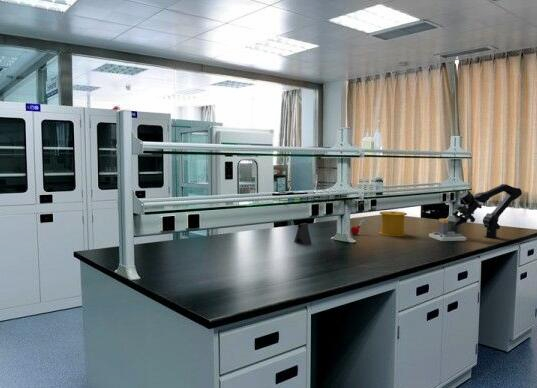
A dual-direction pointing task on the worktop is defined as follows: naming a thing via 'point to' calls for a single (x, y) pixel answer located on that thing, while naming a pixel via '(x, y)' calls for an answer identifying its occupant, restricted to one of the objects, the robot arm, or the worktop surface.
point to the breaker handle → (443, 226)
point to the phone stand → (303, 234)
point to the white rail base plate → (448, 236)
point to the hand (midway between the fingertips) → (454, 225)
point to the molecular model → (356, 229)
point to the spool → (392, 223)
